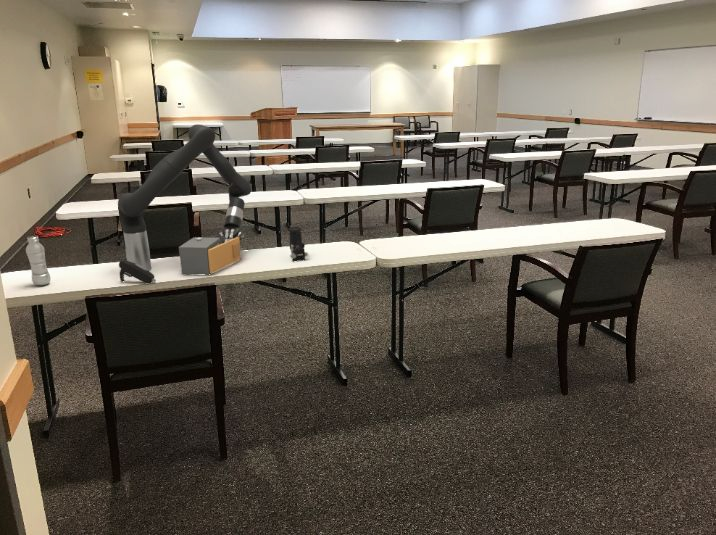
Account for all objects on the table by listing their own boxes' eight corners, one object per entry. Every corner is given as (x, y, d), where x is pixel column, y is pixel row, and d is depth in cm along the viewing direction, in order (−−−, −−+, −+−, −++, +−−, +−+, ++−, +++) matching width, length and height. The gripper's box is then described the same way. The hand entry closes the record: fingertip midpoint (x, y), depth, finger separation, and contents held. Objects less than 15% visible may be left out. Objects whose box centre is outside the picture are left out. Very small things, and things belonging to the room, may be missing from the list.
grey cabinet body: (178, 274, 235) (174, 245, 231) (193, 263, 250) (190, 235, 246) (209, 275, 234) (206, 245, 230) (222, 263, 249) (220, 235, 245)
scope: (289, 232, 245) (283, 227, 254) (291, 262, 249) (285, 256, 258) (307, 230, 248) (301, 225, 257) (308, 259, 252) (302, 254, 261)
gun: (147, 297, 226) (155, 276, 223) (113, 277, 227) (120, 257, 223) (151, 294, 229) (159, 274, 225) (117, 275, 229) (124, 255, 226)
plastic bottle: (44, 287, 222) (34, 239, 216) (29, 287, 223) (19, 238, 217) (55, 282, 228) (46, 234, 222) (40, 281, 229) (30, 234, 223)
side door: (210, 273, 233) (207, 250, 230) (239, 258, 253) (237, 237, 250) (213, 273, 233) (210, 250, 230) (242, 258, 252) (240, 237, 249)
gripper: (217, 214, 254) (209, 247, 246) (245, 214, 252) (239, 248, 245) (222, 223, 261) (215, 255, 253) (249, 223, 259) (243, 256, 251)
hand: (227, 252), depth 249 cm, fingers closed
